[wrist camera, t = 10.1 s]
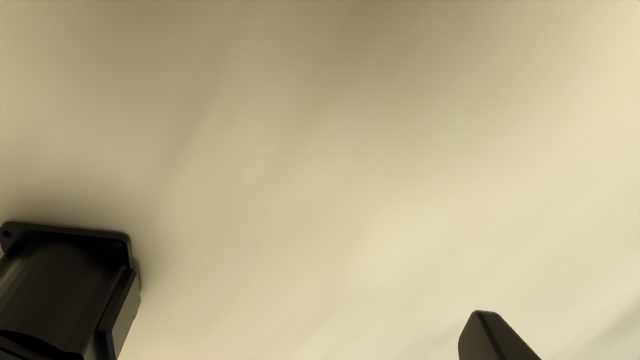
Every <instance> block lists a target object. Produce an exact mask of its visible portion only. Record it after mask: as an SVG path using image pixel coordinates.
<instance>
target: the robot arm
mask: <svg viewBox="0 0 640 360" xmlns="http://www.w3.org/2000/svg"><path fill="white" fill-rule="evenodd" d="M117 242H118V243H120V244H118V243H117ZM0 244H1V247H2V250H3V253H4V254H3V255H2V257H1V258H0V360H117V359H118V357H119V354H120V352H121V349H122V347H123V344H124V342H125V339H126V337H127V334H128V332H129V330H130V327H131V325H132V322H133V320H134V318H135V317H136V314H137V311H138V307H139V305H140V302H141V299H140V289H139V279H138V272H137V271H136V270H135V269H133V263H132V254H131V244H130V240H129V238H128V237H126V236H125V235H122V234H116V233H107V232H98V231H89V230H80V229H70V228H61V227H52V226H43V225H34V224H24V223H15V222H5V223H3V224H2V225H1V226H0ZM121 244H122V245H121ZM458 353H459V360H541V359H540V358H539V356H538V355H537V354H536V353H535V352H534V351H533V350H532V349H531V348H530V347H529V346H528V345H527V344H526V343H525V342H524V340H523V339H522V338H521V337H520V336H519V335H518V334H517V333H516V332H515V331H514V330H513V329H512V328H511V327H510V326H509V325H508V323H507V322H506V321H505V320H504V319H503V318H502V317H501V316H500V315H499V314H497V313H495V312H492V311H482V310H475V311H474V312H472V314H471V315H470V317H469V319H468V321H467V323H466V325H465V327H464V329H463V331H462V333H461V335H460V337H459V341H458Z"/></svg>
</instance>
